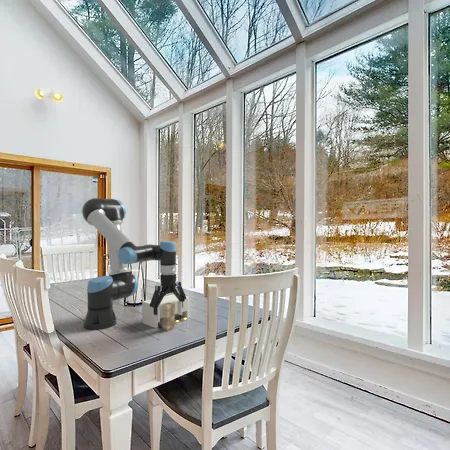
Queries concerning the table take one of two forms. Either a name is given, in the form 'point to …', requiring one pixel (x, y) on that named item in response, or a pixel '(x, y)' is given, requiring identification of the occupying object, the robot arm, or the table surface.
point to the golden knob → (176, 321)
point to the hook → (168, 317)
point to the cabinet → (148, 311)
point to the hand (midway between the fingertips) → (169, 318)
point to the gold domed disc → (182, 318)
